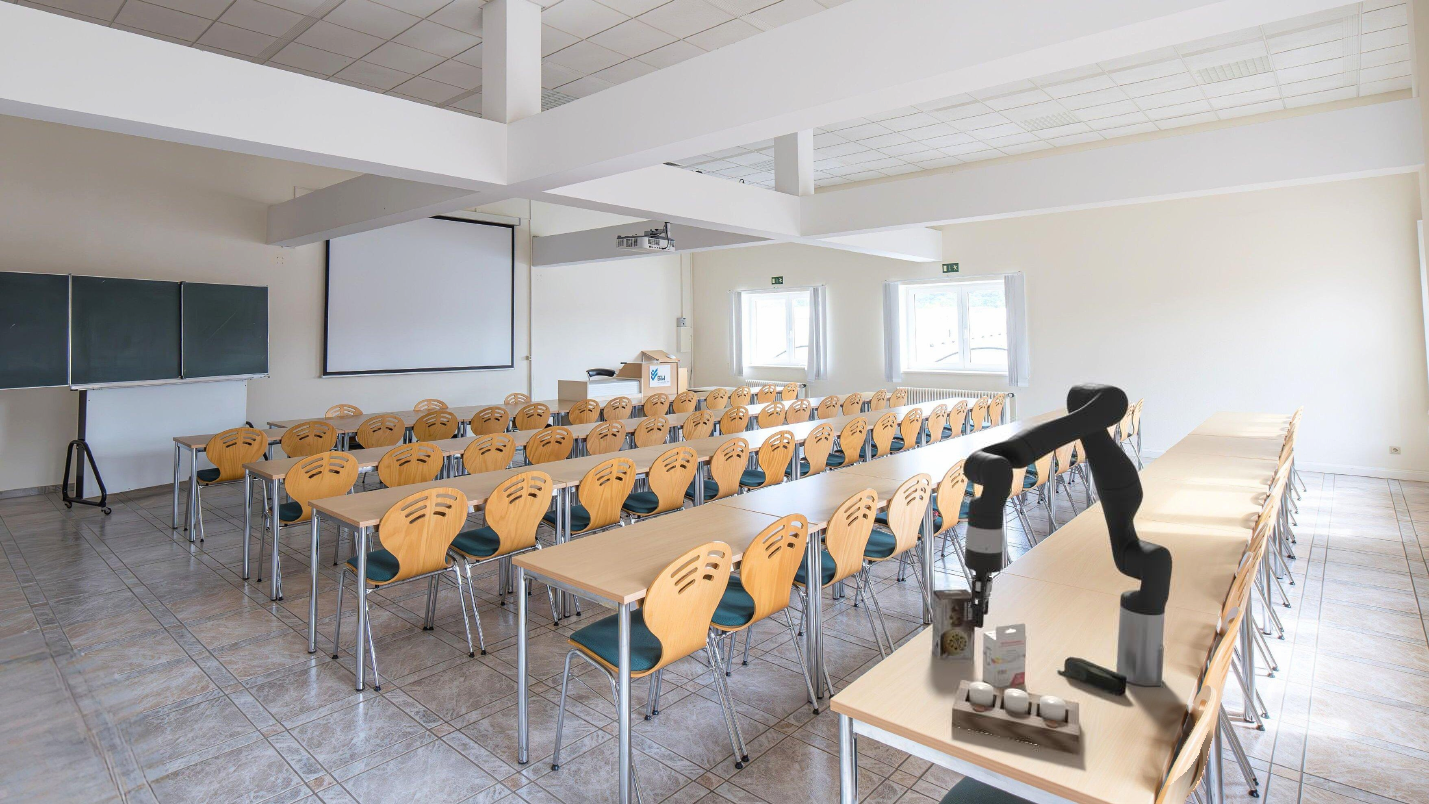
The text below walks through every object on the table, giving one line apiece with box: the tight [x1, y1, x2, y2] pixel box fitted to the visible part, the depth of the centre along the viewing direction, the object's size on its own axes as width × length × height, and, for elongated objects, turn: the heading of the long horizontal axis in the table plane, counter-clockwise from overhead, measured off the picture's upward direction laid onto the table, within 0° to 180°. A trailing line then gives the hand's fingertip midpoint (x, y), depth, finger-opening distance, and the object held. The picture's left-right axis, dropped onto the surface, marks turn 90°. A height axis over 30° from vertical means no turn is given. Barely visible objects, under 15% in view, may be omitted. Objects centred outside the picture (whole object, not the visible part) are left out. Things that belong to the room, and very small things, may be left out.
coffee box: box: [931, 588, 976, 660], centre depth 189 cm, size 9×6×16 cm
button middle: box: [1004, 688, 1029, 715], centre depth 156 cm, size 5×5×4 cm
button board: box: [951, 679, 1080, 756], centre depth 156 cm, size 24×14×4 cm, turn 64°
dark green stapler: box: [1056, 656, 1127, 696], centre depth 173 cm, size 5×3×15 cm
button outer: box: [969, 681, 993, 707], centre depth 159 cm, size 5×5×4 cm
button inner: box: [1040, 695, 1066, 722], centre depth 153 cm, size 5×5×4 cm
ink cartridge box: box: [982, 622, 1027, 688], centre depth 174 cm, size 9×5×15 cm, turn 105°
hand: (980, 620), depth 158 cm, fingers open, 8 cm apart
